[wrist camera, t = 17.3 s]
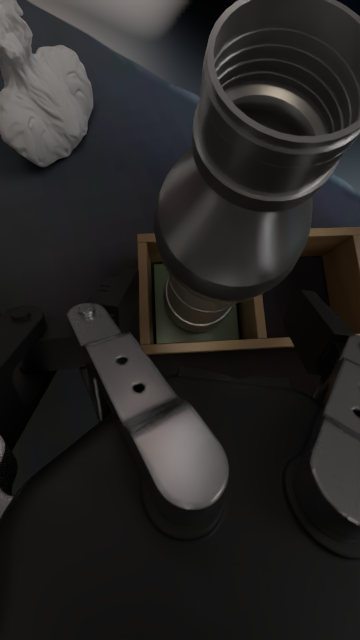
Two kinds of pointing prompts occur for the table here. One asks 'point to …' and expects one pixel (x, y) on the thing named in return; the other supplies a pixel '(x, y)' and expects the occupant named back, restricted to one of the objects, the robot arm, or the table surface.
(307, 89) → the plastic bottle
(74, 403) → the table surface
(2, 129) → the bust
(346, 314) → the brown open rectangular box
